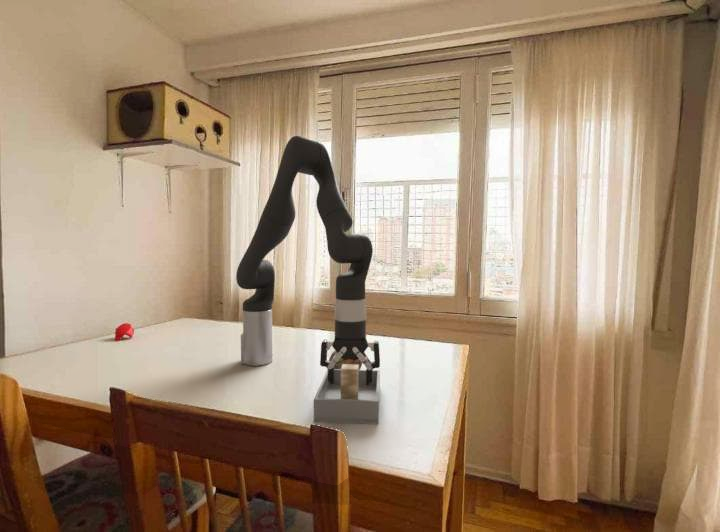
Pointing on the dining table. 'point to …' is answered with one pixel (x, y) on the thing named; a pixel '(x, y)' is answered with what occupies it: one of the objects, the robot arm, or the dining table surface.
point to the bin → (348, 401)
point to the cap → (123, 331)
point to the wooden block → (350, 381)
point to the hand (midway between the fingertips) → (350, 383)
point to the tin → (345, 362)
